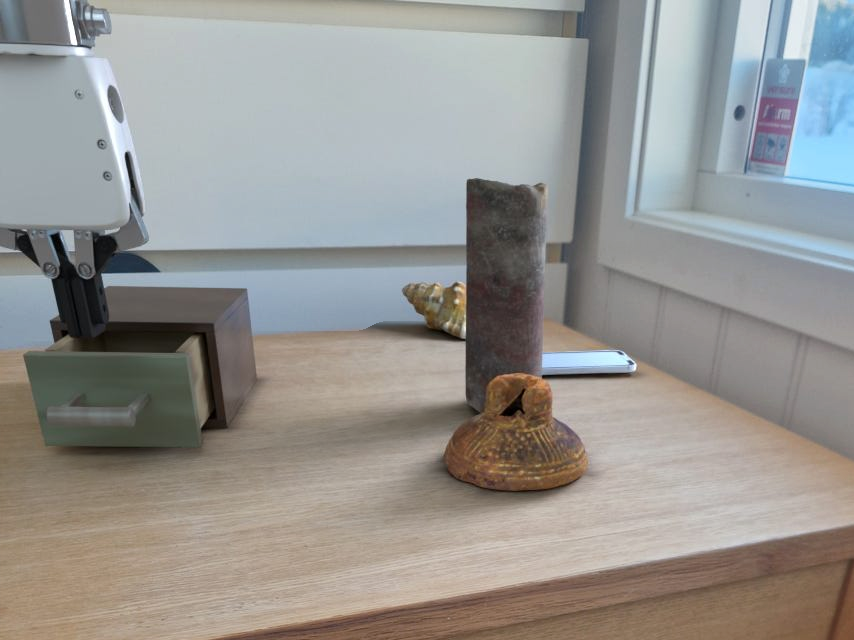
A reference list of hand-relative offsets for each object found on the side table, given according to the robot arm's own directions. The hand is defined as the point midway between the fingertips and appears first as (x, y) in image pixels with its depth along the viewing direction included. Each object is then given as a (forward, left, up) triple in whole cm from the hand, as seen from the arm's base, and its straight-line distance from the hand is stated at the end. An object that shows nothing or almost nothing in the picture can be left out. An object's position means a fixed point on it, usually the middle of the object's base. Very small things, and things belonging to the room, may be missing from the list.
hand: (88, 333), depth 64 cm
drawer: (0, +7, -10) cm, 12 cm away
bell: (+32, +1, -11) cm, 34 cm away
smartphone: (+40, +32, -11) cm, 52 cm away
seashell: (+27, +49, -11) cm, 57 cm away
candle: (+32, +17, -11) cm, 38 cm away
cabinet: (0, +18, -11) cm, 21 cm away
